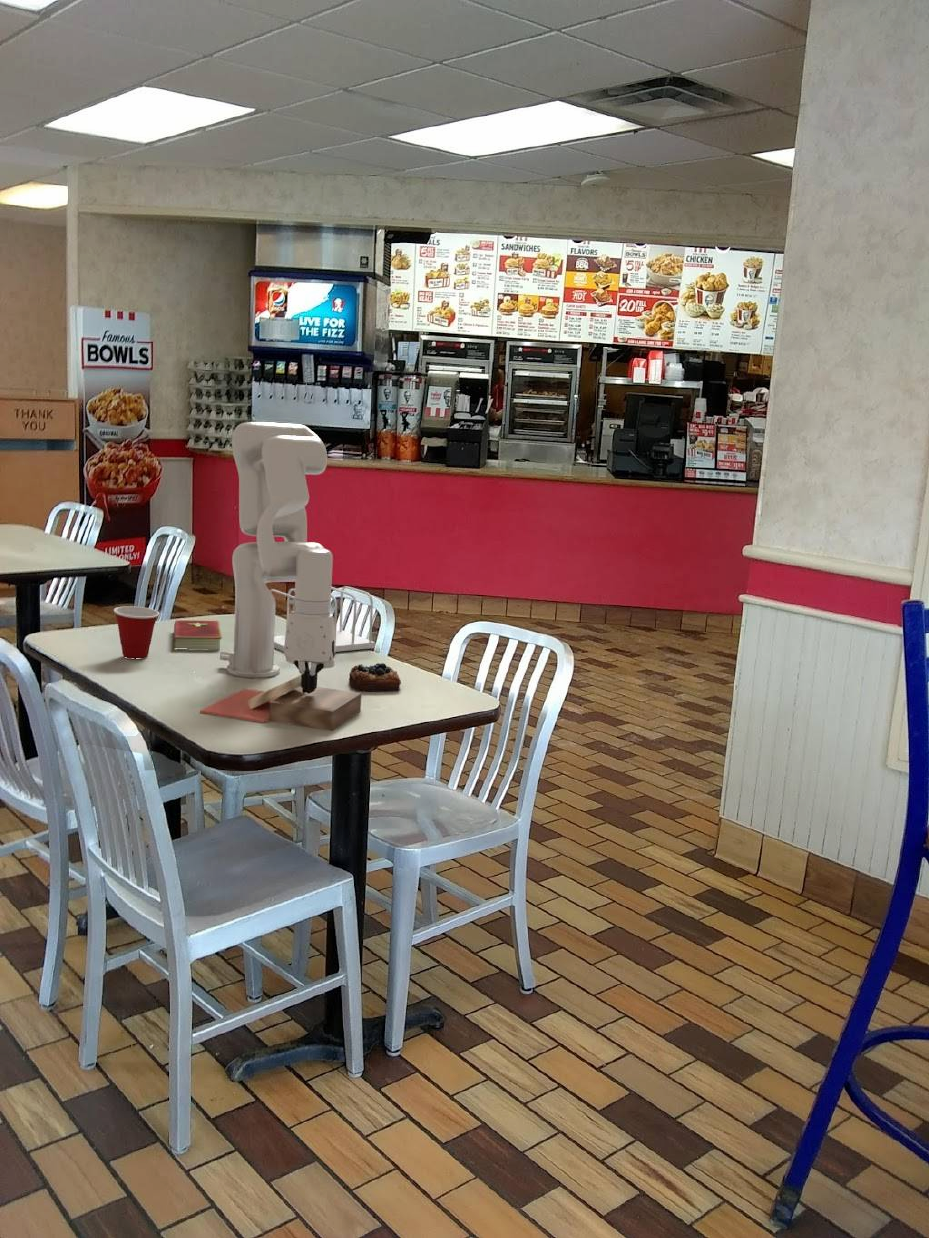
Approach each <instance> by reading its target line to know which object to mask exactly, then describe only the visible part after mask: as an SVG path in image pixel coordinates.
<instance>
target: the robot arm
mask: <svg viewBox="0 0 929 1238" xmlns="http://www.w3.org/2000/svg"><path fill="white" fill-rule="evenodd" d="M231 438H232V441H231V447H232V448H231V449H232V455H233V458H234V462H235V466H236V469H237V473H238V481H239V484H238V487H239V489H238V505H239V506H238V518H239V520H238V521H239V528H240V529H241V532H242V533H243V534H244V535H246V536H251V537H256V541H255V542H254V541H252V542H251V541H250V542H245V543H241V544H239V545H238V546H237V547H236V548H234V550H233V553H232V558H231V561H232V569H233V577H234V586H235V588H234V590H235V591H234V593H235V596H234V597H235V599H234V600H235V601H234V631H233V635H234V637H233V650H232V652H231V651H228V650H221V651H220V653H219V660H221V661H227V662H228V663H229V664H228V665H227V666H226V672H227V673H228V674H230V675H232V676H235V677H236V676H237V677H242V678H249V679H250V678H254V679H255V678H256V679H257V678H259V679H260V678H270V677H274V676H276V675H279V674H280V666H279V665H277V664H275V663H274V660H275V659H274V656H275V655H274V653H275V648H274V636H275V633H276V632H275V631H276V630H275V629H276V599H275V597H274V594H273V592H270V589H269V588H268V586H267V585H266V584H267V583H268V584H269V583H280V582H281V583H282V582H283V583H285V582H287V583H288V582H289V583H292V582H294V583H295V584H294V589H295V591H294V599H292V598H290V599H289V606H292V607H293V608H292V610H291V611H289V619H288V623H287V629H286V628H285V635H284V636H285V644H284V652H283V654H284V657H285V661H286V662H287V663H289V664H291V665H294V666H295V667H296V668H297V669H298V672H299V674H300V675H301V687H302V692H303V693H306V692H307V693H309V694H310V693H312V692H313V691H315V689H316V688H317V687H318V674H319V673H320V672H321V671H322V670H323V669H331V668H333V667H334V666H335V660H334V659H335V656H336V652H335V648H336V640H335V625H334V615H333V613H331V607H332V606H331V603H332V602H331V601H332V597H331V595H332V589H331V587H332V585H333V584H332V581H333V578H332V577H333V563H334V561H333V560H334V557H333V553H332V551H331V550H329V549H327V548H325V547H324V546H323V545H322V544H321V543H318V542H315V541H314V542H313V541H312V542H308V519H307V518H308V517H307V510H306V506H307V505H308V503H309V500H310V494H309V488H308V484H307V480H306V479H307V478H306V475H312V476H313V475H314V476H318V475H321V474H323V473H324V472H325V470H326V468H327V465H328V454H327V453H328V452H327V449H326V445H325V444H324V442H323V441H322V439H321V437H319V436H318V434H316V433H315V432H314V431H312V430H311V429H310V428H309V427H308V426H306V425H303V424H300V423H299V424H298V423H287V422H286V423H285V422H273V421H272V422H271V421H246V422H242V423H239V424H238V425H237V426H236V427H235V428H234V431H233V434H232V437H231ZM276 537H277V538H278V537H282V538H283V539H284V541H276V540H275V538H276Z"/></svg>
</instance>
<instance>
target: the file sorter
mask: <svg viewBox="0 0 929 1238" xmlns="http://www.w3.org/2000/svg"><path fill="white" fill-rule="evenodd" d="M345 589H347V590H349V591H350V590H351V591H354V592H358V593H361V594H364V595H367V596H368V598H369V601H370V604H369V605H370V607H369V608H370V611H369V613H370V614H369V637H368V638H365V637H363V636H359V635H357V634H356V633H355V631H356V620H357V619H356V618H357V605H358V604H357V599H356V597H355V595H354V594H353V593H350V592H348V591H345ZM269 591H270V592H271V593H276V594H279V595H282V596H285V597H286V598H287V600H286V620H285V621H286V622H285V624H286V626H285V630H286V629H287V623H288V619H289V615H290V605H289V599H294V597H295V595H292V592H295V588H290V589H289V590H288V592H287V593H286V592H282V591H280V590H277V589H274V588H272V589H269ZM331 591H336V592H337V593H338V592H339V593H340V602H339V603H340V605H339V606H340V608H339V629H337V627H338V626H337V621H338V601H337V599H336V597H335V596H334V595H333V594H331V599H332V600H333V602H334V615H333V619H334V625H335V640H336V648H335V653H337V652H346V651H356V650H368V649H369V650H370V649H374V648H376V646H375V645H376V642H375V641H373V640H372V639H373V614H374V613H373V611H374V610H373V609H374V601H373V597H372V595H371V593H370V592H367V591H364V590H362V589H358V588H355V587H352V586H347V585H344V586H342V588H341V589H339V588H336V587H334V586H331ZM344 594H345V595H347V596H350V597H351V598H352V599H353V617H352V629H351V630H352V632H349V631H346V630H343V608H344V607H343V604H344ZM284 644H285V635H276V636H275V635H274V649H277V650H279V651H281V652H283V653H284Z"/></svg>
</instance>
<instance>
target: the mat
mask: <svg viewBox="0 0 929 1238" xmlns="http://www.w3.org/2000/svg"><path fill="white" fill-rule="evenodd" d="M265 691H266V690H265ZM265 691H264V690H258V689H250V688H243V689H241V690H239V691H237V692H235V693H233V694H230V695H229V696H227V697H225V698H223V699H221V700H218V701H217V702H215V703H212V704H211V705H208V706H207V707H204V708H202V709H200V711H199V714H205V715H206V714H207V715H213V716H219V717H224V716H226V717H225V718H230V717H232V718H231V719H235V720H236V719H238V720H242V721H243V720H244V721H249V722H257V723H261V722H265V723H266V722H269V712H270V702H271V701H273V700H274V699H276V698H278V697H276V698H274V699H272V700H270V701H268V702H266V703H263V704H261V705H259V706H257V707H255V708H252V709H250V707H249V705H248V702H247V700H249V699H251V698H253V697H255V696H257V695H259V694H261V693H263V692H265ZM283 695H284V694H283ZM281 696H282V695H281ZM279 697H280V696H279Z"/></svg>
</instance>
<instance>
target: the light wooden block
mask: <svg viewBox="0 0 929 1238" xmlns="http://www.w3.org/2000/svg"><path fill="white" fill-rule="evenodd" d="M299 686H301V674H300V675H298V676H295V677H294V678H291V679H288V680H287V681H285V682H283V683H281V684H278V685H276V686H274V687H272V688H270V689H268V690H265V692H263V693H261V694H259V695H257V696H255V697H253V698H251V699H249V700H247V702H248V705H249V707H250V709H252V708H255V707H257V706H259V705H261V704H263V703H266V702H268V701H270V700H272V699H274V698H276V697H279V696H281V695H283V694H286V693H287V692H290V691H292V690H294V689H296V688H297V687H299Z"/></svg>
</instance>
